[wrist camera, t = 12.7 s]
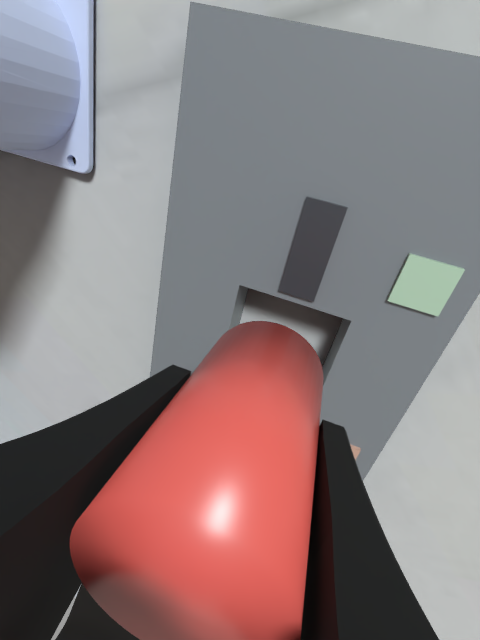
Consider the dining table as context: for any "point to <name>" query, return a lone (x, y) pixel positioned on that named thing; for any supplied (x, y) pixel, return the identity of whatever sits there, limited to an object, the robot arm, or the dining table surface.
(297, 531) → the pin
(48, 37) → the robot arm
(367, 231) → the breaker panel
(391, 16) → the dining table surface
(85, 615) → the phone stand
